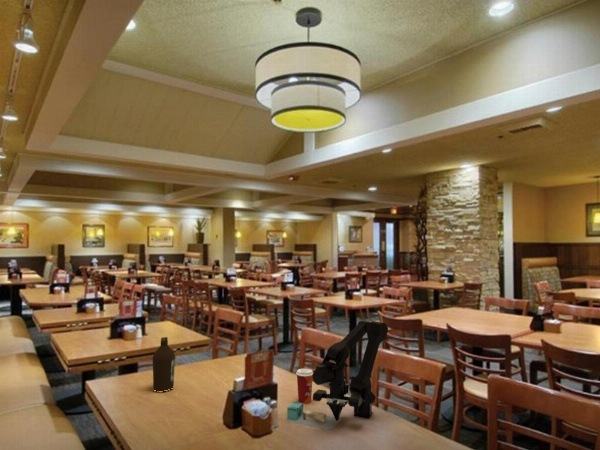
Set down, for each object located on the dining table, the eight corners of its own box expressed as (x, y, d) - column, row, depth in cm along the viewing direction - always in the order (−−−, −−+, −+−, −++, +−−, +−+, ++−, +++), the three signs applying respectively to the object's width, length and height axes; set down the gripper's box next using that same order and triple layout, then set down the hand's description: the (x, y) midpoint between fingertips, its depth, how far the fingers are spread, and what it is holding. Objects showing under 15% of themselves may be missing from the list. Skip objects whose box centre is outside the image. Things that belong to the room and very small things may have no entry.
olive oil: (150, 394, 199) (151, 340, 200) (153, 386, 209) (154, 336, 211) (173, 392, 201) (174, 339, 203) (175, 385, 212) (176, 335, 213)
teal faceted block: (303, 414, 174) (303, 403, 174) (296, 420, 167) (296, 409, 168) (294, 412, 175) (294, 401, 175) (287, 418, 169) (287, 407, 169)
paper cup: (311, 406, 183) (311, 373, 184) (294, 404, 185) (294, 372, 186) (314, 399, 191) (314, 368, 192) (298, 398, 193) (298, 367, 193)
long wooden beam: (326, 420, 167) (326, 413, 167) (324, 422, 165) (324, 416, 165) (305, 416, 171) (305, 410, 171) (303, 419, 168) (303, 412, 169)
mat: (342, 419, 170) (342, 418, 170) (332, 430, 159) (332, 429, 159) (296, 411, 178) (296, 410, 178) (284, 422, 167) (284, 421, 167)
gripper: (365, 376, 169) (365, 416, 168) (322, 371, 176) (322, 409, 175) (357, 385, 158) (358, 427, 158) (312, 379, 166) (312, 419, 165)
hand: (337, 420), depth 164 cm, fingers closed
